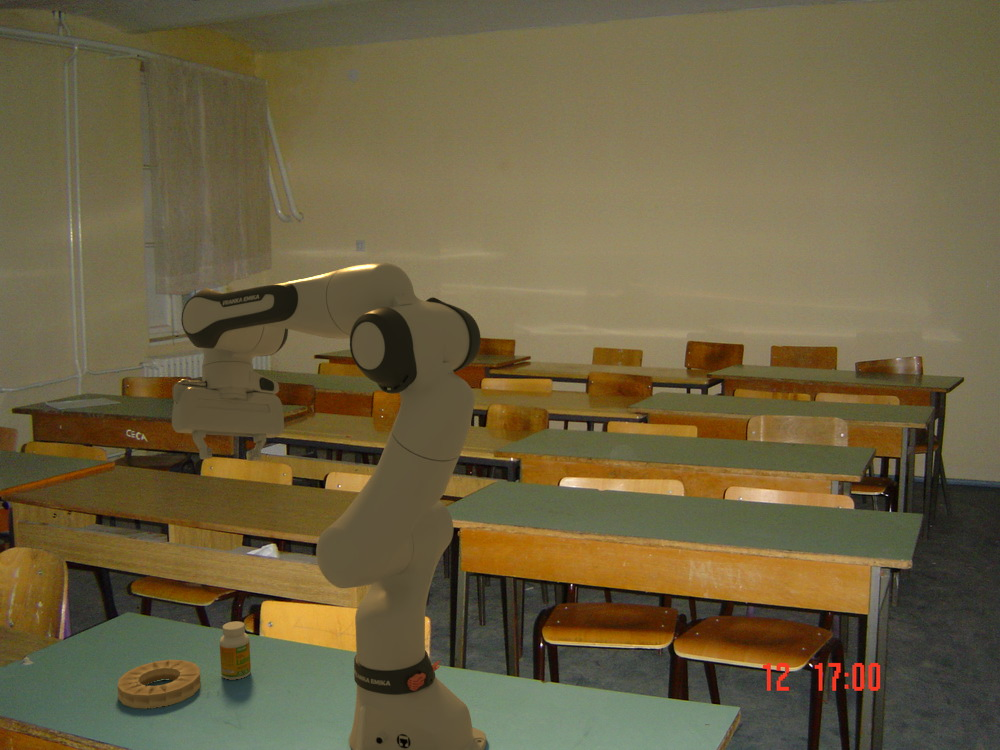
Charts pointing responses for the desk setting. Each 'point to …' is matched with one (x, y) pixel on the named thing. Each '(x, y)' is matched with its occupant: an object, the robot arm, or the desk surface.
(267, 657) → the desk surface
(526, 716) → the desk surface
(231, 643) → the supplement bottle
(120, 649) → the desk surface
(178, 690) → the plain brown donut
